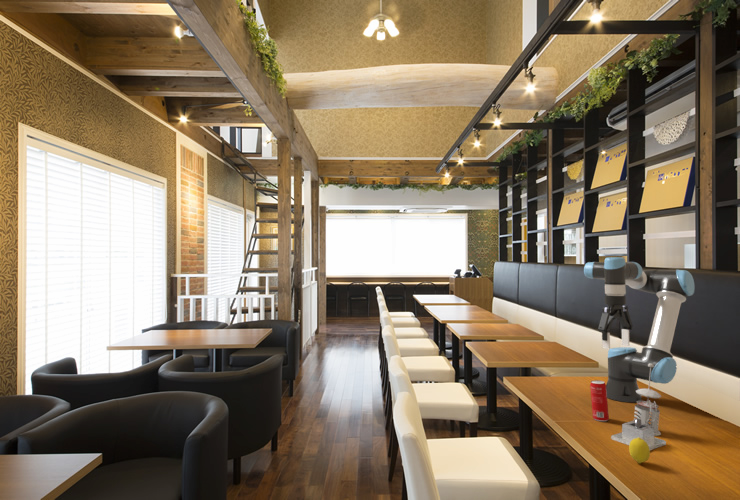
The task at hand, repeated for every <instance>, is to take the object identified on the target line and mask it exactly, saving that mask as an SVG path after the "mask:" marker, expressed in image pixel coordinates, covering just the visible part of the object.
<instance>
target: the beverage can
mask: <svg viewBox="0 0 740 500" xmlns="http://www.w3.org/2000/svg"><path fill="white" fill-rule="evenodd" d="M606 384H607V383H606V382H605V380H604V381H603V380H595V379H594V380H591V381H590V384H589V387H590V397H591V398H590V399H591V411H592V419H593V420H595V421H598V422H607V421H609V420H610V417H609V404H608V403H609V402H608V398H607V390H606Z"/></svg>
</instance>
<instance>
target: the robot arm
mask: <svg viewBox="0 0 740 500" xmlns="http://www.w3.org/2000/svg"><path fill="white" fill-rule="evenodd" d="M583 273H584V276H585V277H586V278H587V279H594V280H596V279H597V280H603V281H604V294H605V296H604V304H605V305H607V307H603V306H602V313H601V317H600V321H599V325H598V328H597V331H599V332H601V343H602V345H601V346H602V347H601V348H602V349H605V350H608V352H607V382H606V383H605V384H606V390H607V399H611V400H613V401H616V402H621V403H622V402H623V403H637V401H642V395H639V394H637V393H636V390H639V389H640V387H639V385H638V379H639V380H643V381H647V382H649V377H650V382H652V383H656V384H658V383H659V384H661V385H662V384H664V385H665V384H669V383H670V382H672V380H673V379H674V378H675V376H676V373H677V369H678V368H677V365H678V364H677V362H676V360H675V359H674V355H673V354H672V353H671V348H672V343H673V341H674V340H673V339H674V336H675V330H676V326H677V321H678V317H679V314H680V308H681V307H682V303H685V302H686V301H687V298H688V297H690V296H693V295H694V294H695V291H696V290H695V288H696V287H695V281H694V277H693V275H692V273H690V271H688V270H685V269H643V267H642V266H641V265H640V264H639V263H638V262H635V261H626V259H625V257H614V256H613V257H605V259H604V261H592V262H591V261H588V262H586V263H585V265H584V267H583ZM626 286H628V287H629V288H631V289H632V290H633V289H634V290H638V291H641V292H645V293H647V294H648V293H649V294H655V295H656V296H657V298H658V301H657V305H656V309H655V313H654V317H653V321H652V326H651V330H650V333H649V337H648V341H647V345H645V346H643V347H642V348H641V352H639V351H638V350H637V348H636V347H630V331H632V329H633V327H634V326H633V323H632V320H631V316H630V313H629V307H628V305H626V304H627V297H626V296H625V295H626V294H627V290H626ZM616 319H618V322H619V323H620V325H621V327H622V328H621V345H622V347H621V346H620V347H612V348H611V337H610V335H611V333H610V332H609V331H610V328H611V326H612V324H613V322H614V320H616ZM626 346H627V347H626ZM649 363H651V364H653V365H654V367H651V375H650V367H649V366H648V364H649Z"/></svg>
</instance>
